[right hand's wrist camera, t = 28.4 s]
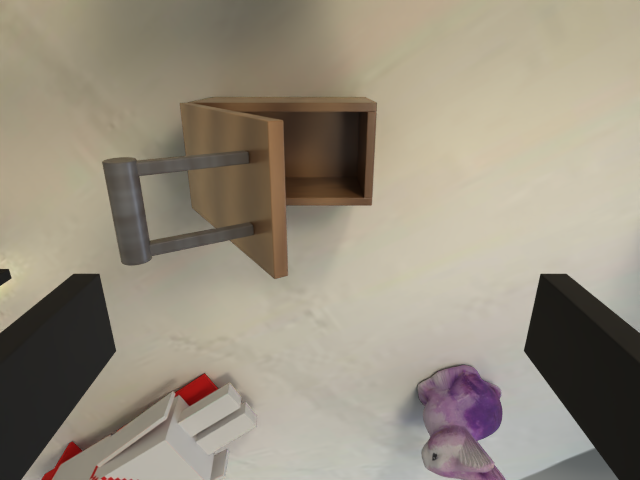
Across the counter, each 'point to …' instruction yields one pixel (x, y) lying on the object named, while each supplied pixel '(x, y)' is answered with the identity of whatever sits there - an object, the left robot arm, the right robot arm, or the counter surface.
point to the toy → (166, 439)
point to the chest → (319, 145)
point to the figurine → (460, 423)
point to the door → (212, 188)
